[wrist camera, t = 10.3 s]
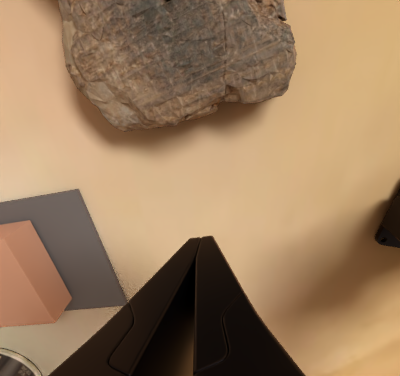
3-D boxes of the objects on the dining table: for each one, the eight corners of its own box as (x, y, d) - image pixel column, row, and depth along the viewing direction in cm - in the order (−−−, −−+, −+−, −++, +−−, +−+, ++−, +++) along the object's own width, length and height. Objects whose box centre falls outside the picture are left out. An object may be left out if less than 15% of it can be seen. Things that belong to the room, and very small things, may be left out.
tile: (3, 238, 20) (-82, 251, 22) (54, 322, 24) (-21, 328, 26) (32, 218, 23) (-45, 230, 25) (73, 296, 27) (5, 302, 29)
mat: (78, 188, 22) (76, 190, 22) (127, 302, 27) (126, 305, 27) (-64, 213, 25) (-68, 215, 24) (6, 312, 30) (3, 315, 30)
